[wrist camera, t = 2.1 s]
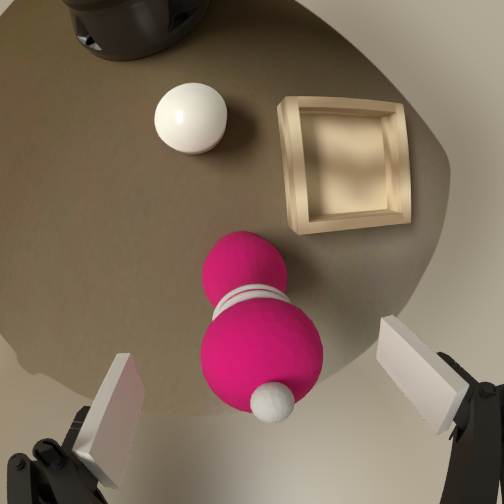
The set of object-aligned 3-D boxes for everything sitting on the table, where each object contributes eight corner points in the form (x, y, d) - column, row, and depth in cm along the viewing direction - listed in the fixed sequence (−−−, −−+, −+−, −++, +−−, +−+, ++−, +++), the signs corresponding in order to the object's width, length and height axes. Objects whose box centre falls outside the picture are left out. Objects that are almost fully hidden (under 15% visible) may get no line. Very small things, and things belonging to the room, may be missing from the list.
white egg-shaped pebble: (161, 101, 24) (152, 89, 20) (222, 92, 24) (223, 78, 20) (167, 159, 25) (158, 156, 21) (229, 150, 26) (230, 145, 22)
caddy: (276, 106, 25) (285, 96, 21) (382, 110, 26) (402, 103, 22) (288, 226, 28) (298, 235, 24) (390, 216, 29) (410, 222, 25)
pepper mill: (246, 211, 27) (303, 298, 8) (290, 265, 29) (388, 404, 10) (190, 257, 28) (139, 409, 9) (236, 307, 30) (258, 477, 11)
